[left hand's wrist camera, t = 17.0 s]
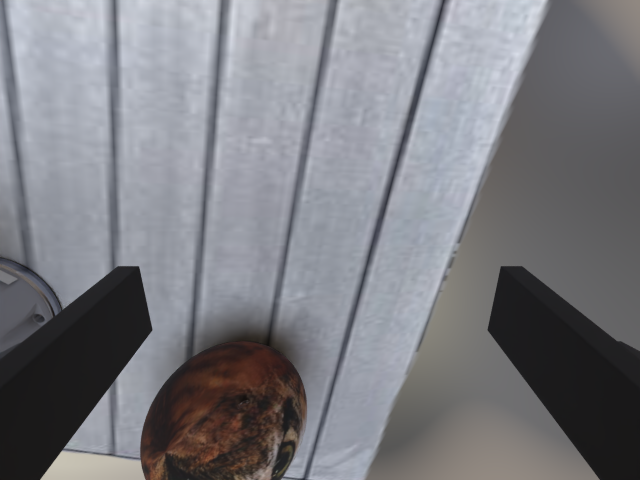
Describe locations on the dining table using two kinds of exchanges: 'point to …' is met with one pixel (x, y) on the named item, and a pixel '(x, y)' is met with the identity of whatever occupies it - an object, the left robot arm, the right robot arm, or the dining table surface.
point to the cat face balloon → (226, 417)
